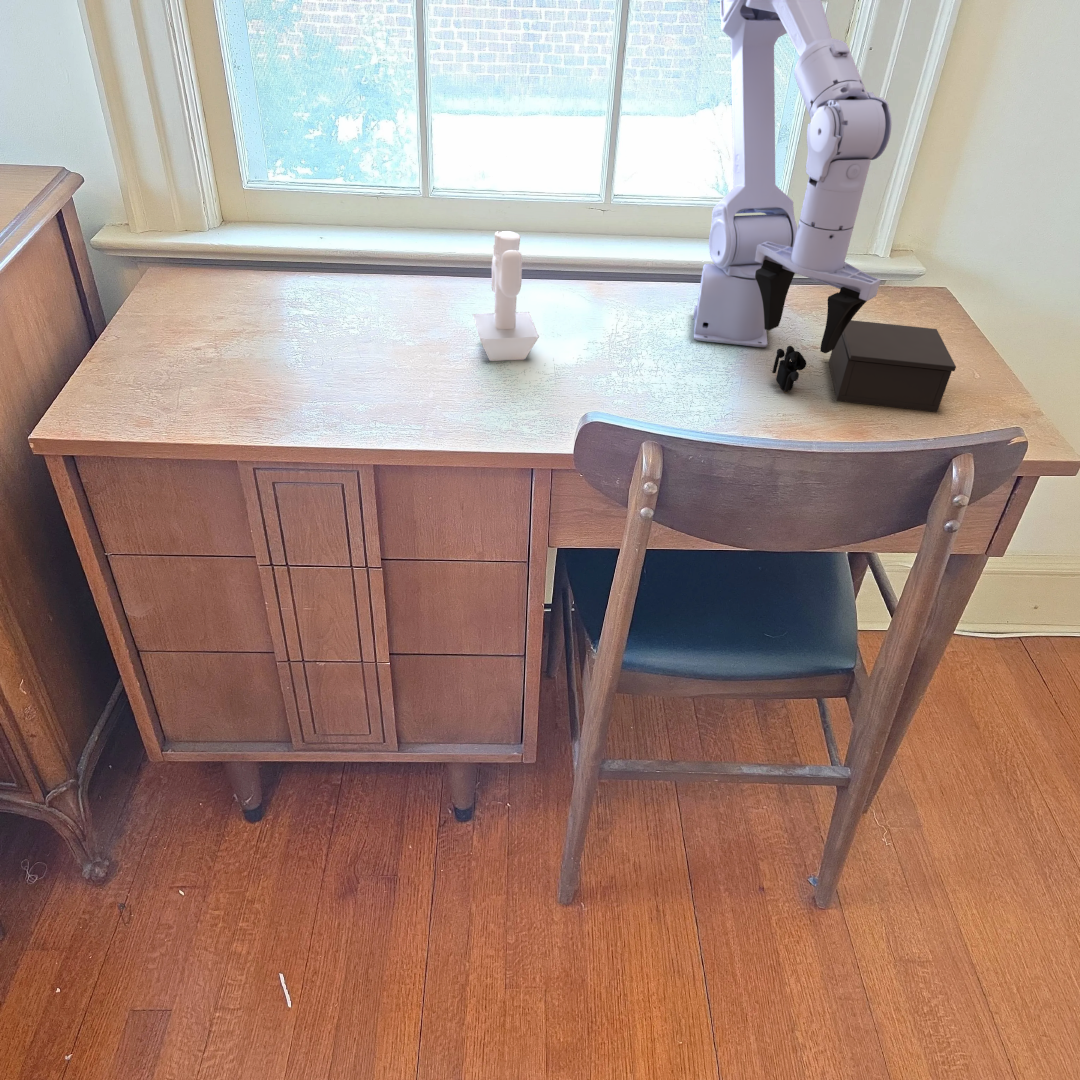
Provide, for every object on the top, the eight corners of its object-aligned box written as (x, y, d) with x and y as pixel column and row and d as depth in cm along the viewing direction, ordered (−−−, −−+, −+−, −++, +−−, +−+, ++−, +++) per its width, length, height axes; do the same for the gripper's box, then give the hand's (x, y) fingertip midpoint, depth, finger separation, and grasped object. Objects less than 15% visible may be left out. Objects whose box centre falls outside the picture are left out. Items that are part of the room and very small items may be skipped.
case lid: (954, 371, 101) (956, 366, 101) (849, 360, 102) (851, 355, 102) (935, 333, 110) (936, 328, 109) (838, 323, 111) (840, 318, 110)
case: (937, 412, 105) (951, 371, 102) (836, 401, 106) (848, 360, 103) (922, 372, 113) (935, 333, 110) (828, 362, 114) (838, 323, 111)
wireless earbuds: (768, 373, 111) (777, 336, 108) (788, 373, 111) (797, 336, 108) (785, 401, 105) (795, 363, 102) (806, 401, 106) (816, 363, 103)
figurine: (526, 334, 117) (530, 219, 107) (539, 368, 109) (545, 247, 100) (471, 337, 115) (470, 220, 106) (480, 371, 108) (481, 249, 99)
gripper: (906, 232, 94) (872, 350, 103) (790, 197, 102) (766, 309, 111) (873, 247, 90) (839, 368, 99) (754, 209, 98) (732, 324, 107)
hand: (798, 338), depth 104 cm, fingers open, 7 cm apart
